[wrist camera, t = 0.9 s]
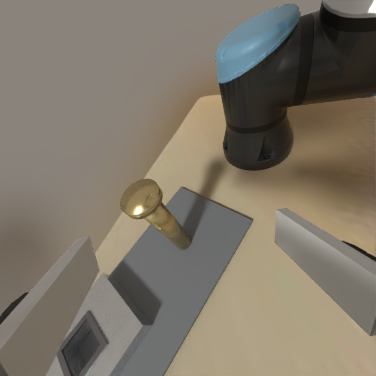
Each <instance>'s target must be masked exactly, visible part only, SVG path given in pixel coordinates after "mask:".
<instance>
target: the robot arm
mask: <svg viewBox="0 0 376 376" xmlns="http://www.w3.org/2000/svg"><path fill="white" fill-rule="evenodd" d="M216 66H217V74H218V75H217V80H218V82H219V86H220V91H221V97H222V103H223V108H224V114H225V119H226V131H225V136H224V141H223V150H224V154H225V157H226V159H227V161H228V162H229V163H230V164H232V165H233V166H235V167H237V168H240V169H244V170H262V169H267V168H270V167H273V166H275V165H277V164H279V163H280V162H282V161H283V160H284V159H285V158H286V157H287V156H288V155H289V153H290V151H291V148H292V142H293V135H292V132H291V128H290V125H289V122H288V118H287V107H291V106H298V105H306V104H314V103H322V102H330V101H338V100H346V99H354V98H366V97H372V96H376V0H322V4H321V8H320V10H319V11H316V12H313V13H310V14H307V15H304V16H301V17H300V11H299V8H298V6H297V5H295V4H286V5H283V6H281V7H279V8H278V7H276V8H273V9H270V10H268V11H266V12H264V13H261V14H260V15H257V16H256V17H254V18H252V19H250V20H248V21H247V22H245V23H243V24H242V25H240V26H239V27H237V28H236V29H235V30H233V31H232V32H231V33H229V34H228V35H227V36H226V37H225V38H224V39H223V40H222V42H221V43H220V45H219V46H218V49H217V52H216ZM275 243H276V244H277V245H278V246H279V247H280V248H281V249H282V250H283V251H284V252H285V253H286V254H287V255H288V256H289V257H290V258H291V259H292V260H293V261H294V262H295V263H296V264H297V265H298V266H299V267H300V268H301V269H302V270H303V271H304V272H305V273H306V274H307V275H308V276H309V277H310V278H311V279H312V280H313V281H314V282H315V283H316V284H318V285H319V286H320V287H321V288H322V289H323V290H324V291H325V292H326V293H327V294H328V295H329V296H330V297H331V298H332V299H333V300H334V301H335V302H336V303H337V304H338V305H339V306H340V307H341V308H342V309H343V310H344V311H345V312H346V313H347V314H348V315H349V316H350V317H351V318H352V319H353V320H354V321H355V322H356V323H357V324H358V325H359V326H360V327H361V328H362V329H363V330H364V331H365V332H366V333H367V334H368V335H369V336H373V335H376V257H374V256H372V255H371V254H367V252H366V251H364V250H362V249H360V248H359V247H357V246H355V245H352V244H350V243H347V242H345V241H340V240H339V239H337V238H335V237H334V236H332V235H330V234H329V233H327V232H325V231H324V230H322V229H320V228H319V227H317V226H315V225H314V224H312V223H310V222H309V221H307V220H305V219H304V218H302V217H300V216H299V215H297V214H295V213H294V212H292V211H290V210H289V209H287V208H285V209H277V211H276V228H275ZM99 270H100V269H99V266H98V263H97V259H96V256H95V253H94V250H93V246H92V243H91V239H90V237H89V236H88V237H81V238H77V239H76V240H75V241H74V242H73V244H72V245H71V246H70V247H69V248H68V249H67V250H66V251H65V253H64V254H63V255H62V256H61V257H60V258H59V259H58V261H57V262H56V263H55V264H54V265H53V266H52V267H51V268H50V269H49V271H48V272H47V273H46V274H45V275H44V276H43V277H42V278H41V280H40V281H39V282H38V283H37V284H36V285H35V286H34V287H33V289H32V290H31V291H30V292H28V293H24V294H23V295H22V296H21V297H19V298H18V299H17V300H15V301H14V302H13V303H11V305H10V306H9V307H8V308H7V309H6V310H5V311H4V312H3V313H2V314H1V316H0V376H46V374H47V372H48V370H49V368H50V366H51V364H52V362H53V361H54V359H55V357H56V355H57V353H58V351H59V349H60V347H61V345H62V343H63V341H64V339H65V337H66V335H67V333H68V331H69V329H70V327H71V325H72V323H73V321H74V319H75V317H76V315H77V313H78V311H79V309H80V308H81V306H82V304H83V302H84V300H85V298H86V296H87V294H88V292H89V290H90V288H91V286H92V284H93V282H94V280H95V278H96V276H97V274H98V272H99Z"/></svg>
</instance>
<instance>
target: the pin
mask: <svg viewBox="0 0 376 376" xmlns="http://www.w3.org/2000/svg"><path fill="white" fill-rule="evenodd" d="M162 198H163V193H162V190H161V188H160V187H159V186H158V185H157V183H156V182H155V181H154V180H151V179H142V180H139V181H137V182H135V183H133V184H132V185H130V186H129V187H128V188H127V189H126V191H125V192H124V194H123V195H122V198H121V201H120V206H121V209H122V211H123V212H124V213H126V214H127V215H128V216H129V217H131V218H133V219H143V218H144V219H146V220H147V221H148V222H149V223H150V224H151V225H152V226H154V227H155V228H156V229H157V230H158V231H159V232H160V233H161V234H163V235H164V236H165V237H166V238H167V239H168V240H169V241H171V242H172V243H173V244H174V245H175V246H176V247H177V248H179V249H180V250H185V249H187V248H188V247H189V246H190V245H191V237H190V235H189V234H188V233H187V232H186V231H185V229H184V228H183V227H182V226H181V225H180V223H179V222H178V221H177V220H176V219H175V217H174V216H173V215H172V214H171V213H170V211H169V210H168V209H167V208H166V207H165V205H164V204H163V203H162V202H161V201H162Z"/></svg>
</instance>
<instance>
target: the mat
mask: <svg viewBox="0 0 376 376" xmlns="http://www.w3.org/2000/svg"><path fill="white" fill-rule="evenodd" d="M165 207H166V208H167V209H168V210H169V211H170V213H171V214H172V215H173V216H174V217H175V219H176V220H177V221H178V222H179V223H180V225H181V226H182V227H183V228H184V229H185V231H186V232H187V233H188V234H189V235H190V237H191V245H190V246H189V247H188V248H187V249H185V250H180V249H179V248H177V247H176V246H175V245H174V244H173V243H172V242H171V241H169V240H168V239H167V238H166V237H165V236H164V235H163V234H161V233H160V232H159V231H158V230H157V229H156V228H155V227H154V226H152V225H150V226H149V227H148V228H147V230H146V231H145V232H144V233H143V235H142V236H141V237H140V238H139V240H138V241H137V242H136V243H135V245H134V246H133V247H132V248H131V250H130V251H129V252H128V253H127V254H126V256H125V257H124V258H123V259H122V261H121V262H120V263H119V264H118V266H117V267H116V268H115V269H114V271H113V272H112V273H111V274H110V276H114V277H115V279H116V280H117V281H118V282H119V284H120V285H121V286H122V287H123V289H124V290H125V291H126V292H127V294H128V295H129V296H130V298H131V299H132V300H133V301H134V303H135V304H136V305H137V306H138V308H139V309H140V310H141V311H142V313H143V314H144V315H145V316H146V318H147V319H148V320H149V321H150V323H151V324H152V327H151V329H150V330H149V332H148V333H147V335H146V336H145V338H144V339H143V341H142V342H141V344H140V345H139V347H138V348H137V350H136V352H135V353H134V355H133V356H132V358H131V359H130V361H129V362H128V364H127V365H126V367H125V368H124V370H123V371H122V373H121V375H120V376H164V374H165V373H166V371H167V369H168V367H169V366H170V364H171V362H172V360H173V359H174V357H175V355H176V354H177V352H178V350H179V348H180V347H181V345H182V343H183V341H184V340H185V338H186V336H187V335H188V333H189V331H190V329H191V328H192V326H193V324H194V322H195V321H196V319H197V317H198V315H199V314H200V312H201V310H202V309H203V307H204V305H205V303H206V302H207V300H208V298H209V296H210V295H211V293H212V291H213V290H214V288H215V286H216V284H217V283H218V281H219V279H220V277H221V276H222V274H223V272H224V270H225V269H226V267H227V265H228V264H229V262H230V260H231V258H232V257H233V255H234V253H235V251H236V250H237V248H238V246H239V245H240V243H241V241H242V239H243V238H244V236H245V234H246V232H247V231H248V229H249V227H250V225H251V224H252V222H253V220H251V219H248V218H246V217H244V216H242V215H240V214H238V213H236V212H233V211H231V210H229V209H227V208H225V207H223V206H220V205H218V204H216V203H214V202H212V201H210V200H208V199H205V198H203V197H201V196H199V195H197V194H195V193H193V192H190V191H188V190H186V189H184V188H182V187H181V188H180V189H179V190H178V191H177V192H176V194H175V195H174V196H173V197H172V199H171V200H170V201H169V202H168V204H167V205H166V206H165ZM99 346H100V344H99V342H98V340H97V338H96V336H95V334H94V332H93V331H91V333H90V334H89V335H88V337H87V338H86V339H85V341H84V342H83V343H82V345H81V346H80V347H79V350H80V352H81V354H82V356H83V359H84V361H85V363H86V364H87V362H88V361H89V360H90V358H91V357H92V356H93V354H94V353H95V351H96V350H97V349H98V347H99Z"/></svg>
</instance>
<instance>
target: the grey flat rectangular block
mask: <svg viewBox="0 0 376 376" xmlns="http://www.w3.org/2000/svg"><path fill="white" fill-rule="evenodd" d="M151 327H152V324H151V323H150V321H149V320H148V319H147V318H146V316H145V315H144V314H143V313H142V311H141V310H140V309H139V308H138V306H137V305H136V304H135V303H134V301H133V300H132V299H131V298H130V296H129V295H128V294H127V292H126V291H125V290H124V289H123V287H122V286H121V285H120V284H119V282H118V281H117V280H116V279H115V277H114V276H110V275H107V274H104V273H103V274H102V275H101V277H100V278H99V279H98V280H97V282H96V283H95V284H94V285H93V286H92V288H91V289H90V290H89V292H88V294H87V296H86V298H85V300H84V302H83V304H82V306H81V308H80V309H79V311H78V313H77V315H76V317H75V319H74V321H73V323H72V325H71V327H70V329H69V331H68V333H67V335H66V337H65V339H64V341H63V343H62V345H61V347H60V349H59V351H58V353H57V355H56V357H55V359H54V361H53V362H52V364H51V366H50V368H49V370H48V372H47V374H46V376H120V375H121V373H122V371H123V370H124V368H125V367H126V365H127V364H128V362H129V361H130V359H131V358H132V356H133V355H134V353H135V352H136V350H137V348H138V347H139V345H140V344H141V342H142V341H143V339H144V338H145V336H146V335H147V333H148V332H149V330H150V329H151ZM91 331H93V332H94V334H95V336H96V338H97V340H98V342H99V344H100V346H99V347H98V349H97V350H96V351H95V353H94V354H93V356H92V357H91V358H90V360H89V361H88V362H87V364H86V363H85V361H84V359H83V356H82V354H81V352H80V350H79V347H80V346H81V345H82V343H83V342H84V341H85V339H86V338H87V337H88V335H89V334H90V333H91Z"/></svg>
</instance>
